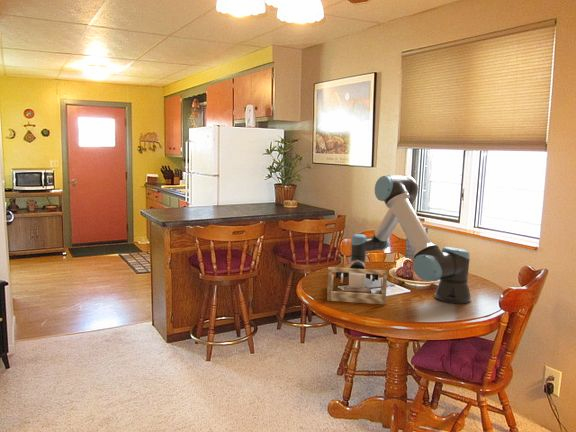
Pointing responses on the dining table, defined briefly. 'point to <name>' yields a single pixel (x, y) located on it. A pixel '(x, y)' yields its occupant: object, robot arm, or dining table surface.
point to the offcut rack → (356, 296)
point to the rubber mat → (376, 283)
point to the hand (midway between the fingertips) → (356, 280)
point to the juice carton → (409, 248)
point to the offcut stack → (357, 290)
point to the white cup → (357, 280)
